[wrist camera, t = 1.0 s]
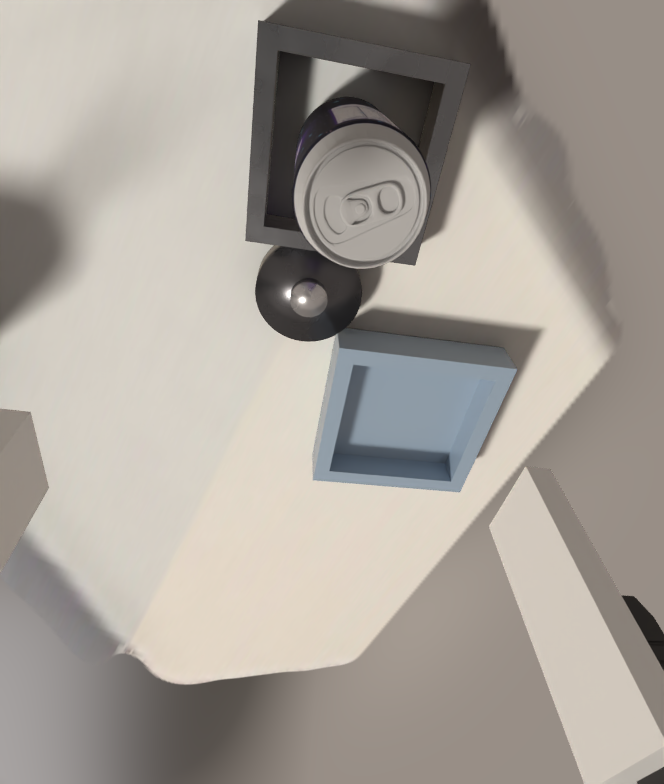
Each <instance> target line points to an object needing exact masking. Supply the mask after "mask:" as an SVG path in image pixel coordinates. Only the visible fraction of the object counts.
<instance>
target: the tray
mask: <svg viewBox="0 0 664 784" xmlns="http://www.w3.org/2000/svg"><path fill="white" fill-rule="evenodd" d="M516 372H517V368H516V366H515V365H514V363H513V362H512V360H511V359H510V357H509V355H508V354H507V352H506V351H505V349H504V348H501V347H493V346H485V345H477V344H469V343H461V342H453V341H445V340H437V339H429V338H421V337H413V336H405V335H397V334H389V333H381V332H374V331H366V330H358V329H350V328H345V329H344V330H342V331H341V332H340V333H338V334H336V335H335V341H334V346H333V351H332V356H331V361H330V367H329V372H328V377H327V382H326V388H325V393H324V398H323V403H322V408H321V414H320V419H319V424H318V429H317V435H316V440H315V445H314V450H313V480H318V481H330V482H342V483H354V484H366V485H378V486H391V487H403V488H415V489H427V490H439V491H451V492H460V491H461V489H462V487H463V485H464V483H465V480H466V478H467V476H468V474H469V472H470V470H471V468H472V465H473V463H474V461H475V459H476V457H477V455H478V453H479V451H480V448H481V446H482V444H483V442H484V440H485V438H486V436H487V433H488V431H489V429H490V427H491V425H492V423H493V421H494V419H495V416H496V414H497V412H498V410H499V408H500V406H501V404H502V401H503V399H504V397H505V395H506V393H507V391H508V389H509V386H510V384H511V382H512V380H513V378H514V376H515V374H516Z"/></svg>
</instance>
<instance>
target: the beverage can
mask: <svg viewBox="0 0 664 784" xmlns="http://www.w3.org/2000/svg"><path fill="white" fill-rule="evenodd" d="M430 200H431V179H430V173H429V170H428V166H427V163H426V161H425V159H424V157H423V155H422V153H421V151H420V150H419V148H418V147H417V145H416V144H415V143H414V142H413V141H412V140H411V139H410V138H409V137H408V136H407V135H406V134H405V133H404V132H403V131H402V130H400V129H399V128H398V127H397V126H396V125H395V124H394V123H393V122H392V121H390V120H389V119H388V118H387V117H386V116H385V115H384V114H383V113H382V112H380V111H379V110H378V109H377V108H376V107H375V106H373V105H372V104H370V103H369V102H367V101H364V100H362V99H358V98H354V97H340V98H336V99H332V100H330V101H327V102H325V103H324V104H322V105H320V106H319V107H318V108H316V109H315V110H314V111H313V112H312V113H311V114H310V116H309V117H308V118H307V120H306V121H305V123H304V125H303V127H302V129H301V131H300V134H299V137H298V142H297V149H296V159H295V169H294V179H293V189H292V204H293V211H294V216H295V219H296V222H297V225H298V227H299V229H300V231H301V233H302V235H303V236H304V238H305V239H306V241H307V242H308V243H309V244H310V245H311V246H312V247H313V248H314V249H315V250H316V251H317V252H318V253H319V254H321V255H322V256H324V257H325V258H327V259H329V260H331V261H333V262H335V263H337V264H339V265H342V266H346V267H349V268H356V269H367V268H374V267H378V266H381V265H384V264H386V263H388V262H391V261H393V260H394V259H396V258H397V257H399V256H400V255H401V254H403V253H404V252H405V251H406V250H407V249H408V248H409V247H410V246H411V244H412V243H413V242H414V241H415V239H416V238H417V236H418V234H419V233H420V231H421V229H422V226H423V224H424V222H425V219H426V217H427V214H428V210H429V206H430Z"/></svg>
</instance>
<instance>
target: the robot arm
mask: <svg viewBox="0 0 664 784" xmlns="http://www.w3.org/2000/svg"><path fill="white" fill-rule="evenodd" d="M48 488H49V486H48V482H47V478H46V474H45V470H44V466H43V461H42V457H41V453H40V449H39V445H38V441H37V437H36V433H35V428H34V424H33V420H32V416H31V412H25V411H16V410H7V409H0V573H1V571H2V570H3V568H4V566H5V564H6V563H7V561H8V559H9V557H10V556H11V554H12V552H13V550H14V548H15V547H16V545H17V543H18V541H19V540H20V538H21V536H22V534H23V533H24V531H25V529H26V527H27V526H28V524H29V522H30V520H31V518H32V517H33V515H34V513H35V511H36V510H37V508H38V506H39V504H40V503H41V501H42V499H43V497H44V495H45V494H46V492H47V490H48ZM489 528H490V531H491V533H492V536H493V539H494V541H495V544H496V547H497V549H498V552H499V555H500V558H501V560H502V563H503V566H504V568H505V571H506V574H507V576H508V579H509V582H510V585H511V587H512V590H513V593H514V595H515V598H516V601H517V603H518V606H519V609H520V611H521V614H522V617H523V619H524V622H525V625H526V628H527V630H528V633H529V636H530V638H531V641H532V644H533V647H534V649H535V652H536V654H537V657H538V660H539V663H540V665H541V668H542V671H543V674H544V676H545V679H546V682H547V684H548V687H549V690H550V692H551V695H552V698H553V700H554V703H555V706H556V708H557V711H558V714H559V717H560V719H561V722H562V725H563V727H564V730H565V733H566V736H567V738H568V741H569V744H570V746H571V749H572V752H573V754H574V757H575V759H576V762H577V765H578V768H579V771H580V773H581V776H582V779H583V781H584V784H635V783H638V784H664V634H663V632H662V630H661V629H660V627H659V625H658V623H657V622H656V620H655V619H654V617H653V616H652V615H651V614H650V613H649V612H648V611H647V610H646V609H645V607H643V605H642V604H641V603H640V602H639V601H638V600H637V599H636V598H635V597H634V596H621V594H620V592H619V590H618V589H617V587H616V585H615V583H614V581H613V580H612V578H611V576H610V574H609V573H608V571H607V569H606V567H605V565H604V564H603V562H602V560H601V558H600V556H599V555H598V553H597V551H596V549H595V548H594V546H593V544H592V542H591V541H590V539H589V537H588V535H587V533H586V532H585V530H584V528H583V526H582V525H581V523H580V521H579V519H578V517H577V515H576V514H575V512H574V510H573V508H572V507H571V505H570V503H569V501H568V499H567V498H566V496H565V494H564V492H563V491H562V489H561V487H560V485H559V483H558V482H557V480H556V478H555V476H554V474H553V473H552V471H551V469H547V468H538V467H528V466H526V467H525V468H524V470H523V472H522V473H521V475H520V477H519V478H518V480H517V481H516V483H515V485H514V486H513V488H512V490H511V492H510V493H509V494H508V496H507V498H506V499H505V501H504V503H503V504H502V506H501V508H500V509H499V511H498V513H497V514H496V516H495V517H494V519H493V521H492V522H491V524H490V526H489Z"/></svg>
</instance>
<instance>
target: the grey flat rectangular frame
mask: <svg viewBox="0 0 664 784" xmlns="http://www.w3.org/2000/svg"><path fill="white" fill-rule="evenodd" d="M280 51H283V52H288V53H293V54H298V55H303V56H308V57H313V58H318V59H323V60H328V61H333V62H338V63H343V64H348V65H353V66H358V67H363V68H368V69H373V70H378V71H383V72H388V73H393V74H398V75H403V76H408V77H413V78H418V79H423V80H428V81H433V82H434V86H433V90H432V94H431V98H430V102H429V106H428V110H427V115H426V119H425V123H424V127H423V131H422V135H421V139H420V143H419V147H418V148H419V150H420V151H421V153H422V155H423V157H424V159H425V161H426V163H427V166H428V170H429V173H430V179H431V200H430V206H429V210H428V214H427V217H426V219H425V222H424V224H423V226H422V229H421V231H420V233H419V234H418V236H417V238H416V239H415V241H414V242H413V243H412V244H411V246H410V247H409V248H408V249H407V250H406V251H405V252H404V253H403V254H401V255H400V256H399V257H397V258H396V259H394V260H393V261H391V262H394V263H401V264H408V265H415V264H416V260H417V257H418V253H419V250H420V246H421V242H422V239H423V235H424V231H425V228H426V224H427V221H428V217H429V213H430V210H431V206H432V202H433V199H434V195H435V192H436V188H437V184H438V181H439V177H440V173H441V170H442V166H443V163H444V159H445V155H446V152H447V148H448V144H449V141H450V137H451V134H452V130H453V126H454V123H455V119H456V115H457V112H458V108H459V104H460V101H461V97H462V94H463V90H464V86H465V83H466V79H467V75H468V72H469V68H470V65H471V64H468V63H463V62H458V61H453V60H448V59H443V58H439V57H434V56H429V55H424V54H419V53H414V52H410V51H405V50H400V49H395V48H390V47H385V46H381V45H376V44H371V43H366V42H361V41H356V40H351V39H347V38H342V37H337V36H332V35H327V34H322V33H318V32H313V31H308V30H303V29H298V28H293V27H289V26H284V25H279V24H274V23H269V22H264V21H260V20H258V33H257V51H256V68H255V85H254V103H253V120H252V137H251V154H250V172H249V189H248V206H247V224H246V241H250V242H257V243H264V244H271V245H274V246H273V247H272V248H271V249H270V250H269V251H268V252H267V254H266V255H265V257H264V258H263V260H262V263H261V265H260V268H259V272H258V276H257V281H256V288H255V295H256V302H257V305H258V308H259V311H260V313H261V315H262V316H263V318H264V319H265V321H266V322H267V323H268V324H269V325H270V326H271V327H272V328H273V329H274V330H276V331H277V332H278V333H280V334H282V335H284V336H286V337H288V338H291V339H294V340H299V341H319V340H324V339H327V338H330V337H332V336H334V335H336V334H338V333H340V332H341V331H342V330H344V329H345V328H346V327H347V326H348V325H349V324H350V323H351V321H352V320H353V319H354V317H355V316H356V314H357V312H358V309H359V307H360V303H361V297H362V288H361V282H360V277H359V273H358V269H356V268H349V267H346V266H342V265H339V264H337V263H335V262H333V261H331V260H329V259H327V258H325V257H324V256H322V255H321V254H319V253H318V252H317V251H316V250H315V249H314V248H313V247H312V246H311V245H310V244H309V243H308V242H307V241H306V239H305V238H304V236H303V235H302V233H301V231H300V229H299V227H298V225H297V222H296V219H294V218H287V217H281V216H275V215H268V214H267V203H268V191H269V178H270V166H271V154H272V141H273V129H274V117H275V104H276V92H277V80H278V68H279V55H280Z"/></svg>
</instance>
